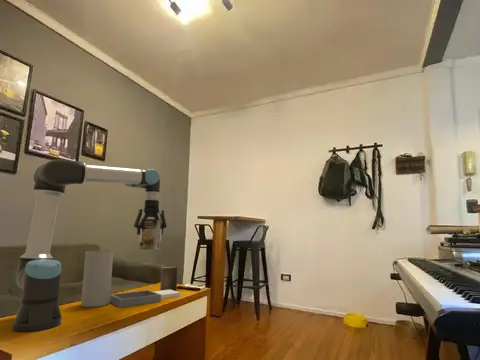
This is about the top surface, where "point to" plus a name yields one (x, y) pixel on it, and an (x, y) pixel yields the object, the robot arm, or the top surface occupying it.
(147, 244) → the coffee box
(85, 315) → the top surface
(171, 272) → the brown box
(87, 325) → the top surface
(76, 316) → the top surface
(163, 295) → the board
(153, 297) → the bin
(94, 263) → the cylinder vase
